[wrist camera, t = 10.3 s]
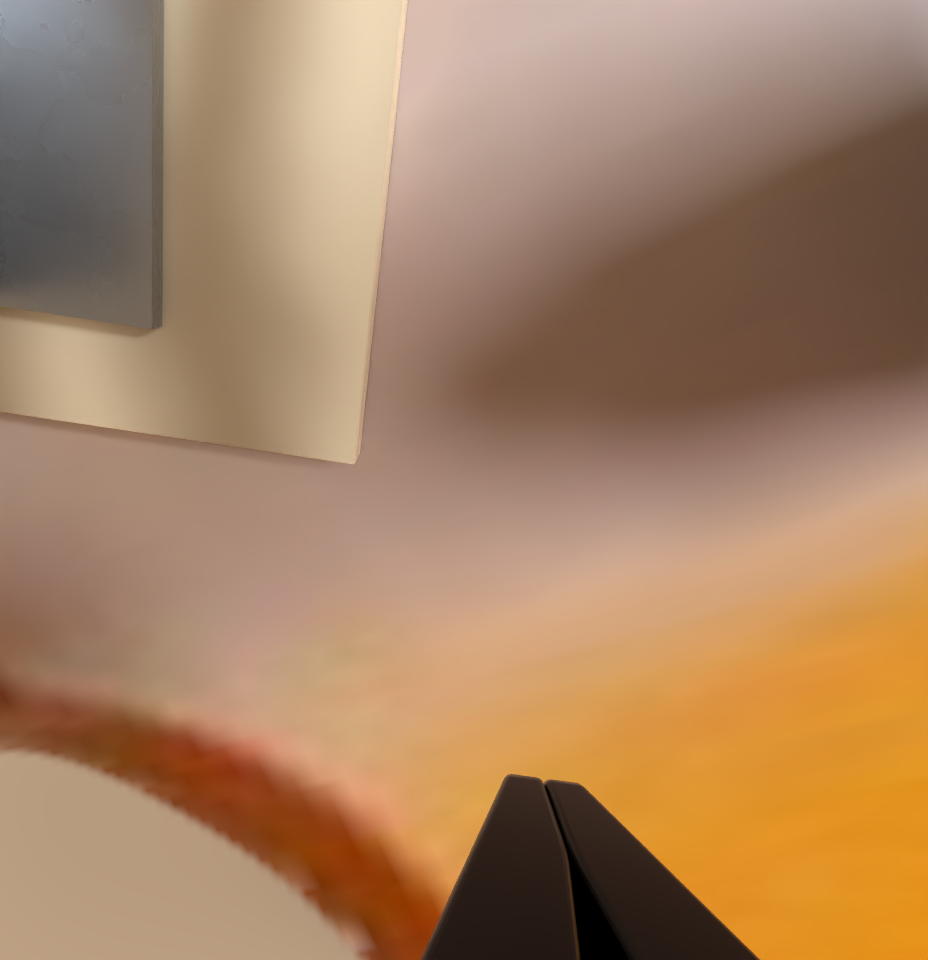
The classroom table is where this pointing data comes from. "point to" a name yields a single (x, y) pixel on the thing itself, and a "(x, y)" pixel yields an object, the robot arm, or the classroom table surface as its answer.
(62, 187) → the bookend
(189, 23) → the shelf
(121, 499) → the classroom table surface
